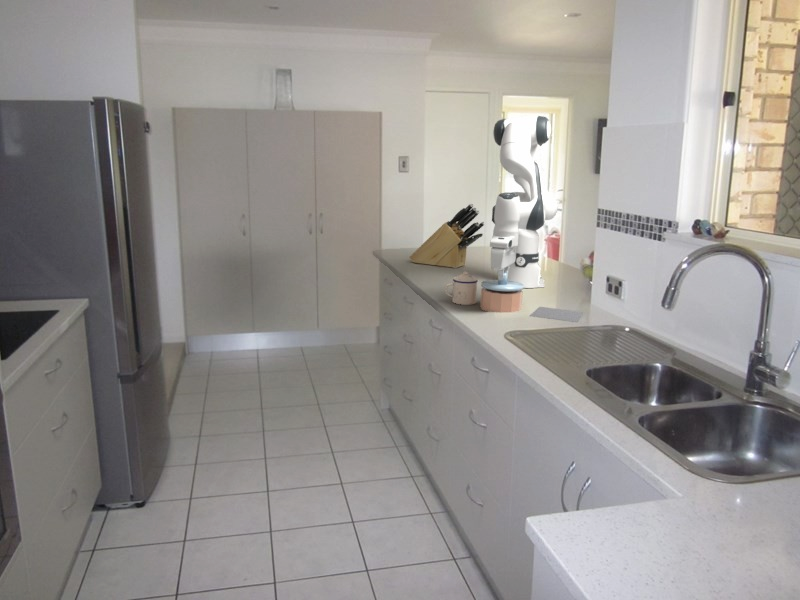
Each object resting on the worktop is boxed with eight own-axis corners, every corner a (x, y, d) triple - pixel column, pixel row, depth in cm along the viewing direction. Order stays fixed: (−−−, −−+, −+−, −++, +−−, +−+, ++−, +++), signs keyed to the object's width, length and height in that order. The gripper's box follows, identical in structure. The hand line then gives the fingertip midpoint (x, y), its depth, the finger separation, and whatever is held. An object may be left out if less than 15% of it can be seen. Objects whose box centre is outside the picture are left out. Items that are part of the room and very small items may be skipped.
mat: (539, 308, 235) (539, 306, 235) (584, 313, 229) (584, 312, 229) (529, 317, 221) (529, 315, 221) (576, 323, 215) (577, 322, 215)
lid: (487, 280, 240) (488, 267, 239) (527, 285, 234) (528, 271, 233) (475, 288, 227) (476, 274, 226) (517, 293, 221) (518, 278, 220)
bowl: (487, 302, 241) (488, 284, 240) (524, 307, 236) (526, 288, 234) (475, 310, 229) (477, 291, 227) (514, 315, 223) (516, 295, 222)
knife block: (474, 271, 307) (478, 205, 300) (408, 263, 323) (411, 200, 316) (483, 267, 316) (487, 204, 309) (419, 260, 332) (421, 199, 326)
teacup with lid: (473, 299, 245) (475, 269, 243) (478, 305, 237) (480, 274, 234) (442, 299, 244) (443, 269, 241) (446, 305, 235) (448, 273, 233)
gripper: (504, 236, 237) (502, 273, 240) (488, 242, 219) (485, 282, 222) (521, 237, 235) (518, 274, 238) (506, 244, 216) (503, 284, 220)
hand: (502, 278), depth 230 cm, fingers closed on lid, 3 cm apart
